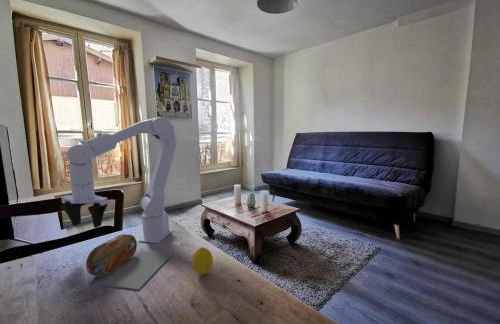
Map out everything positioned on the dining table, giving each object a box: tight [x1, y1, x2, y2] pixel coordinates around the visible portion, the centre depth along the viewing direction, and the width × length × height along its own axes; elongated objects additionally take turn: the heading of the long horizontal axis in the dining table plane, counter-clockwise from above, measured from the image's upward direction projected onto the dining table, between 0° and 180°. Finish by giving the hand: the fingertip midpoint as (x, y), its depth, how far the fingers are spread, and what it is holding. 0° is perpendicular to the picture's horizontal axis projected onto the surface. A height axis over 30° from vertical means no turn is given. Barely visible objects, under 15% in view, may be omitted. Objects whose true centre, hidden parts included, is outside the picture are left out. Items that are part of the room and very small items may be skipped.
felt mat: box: [100, 250, 173, 291], centre depth 70 cm, size 17×11×1 cm, turn 170°
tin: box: [85, 234, 138, 278], centre depth 70 cm, size 15×3×8 cm, turn 160°
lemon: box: [191, 246, 214, 276], centre depth 66 cm, size 6×6×8 cm
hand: (87, 225), depth 76 cm, fingers open, 7 cm apart
